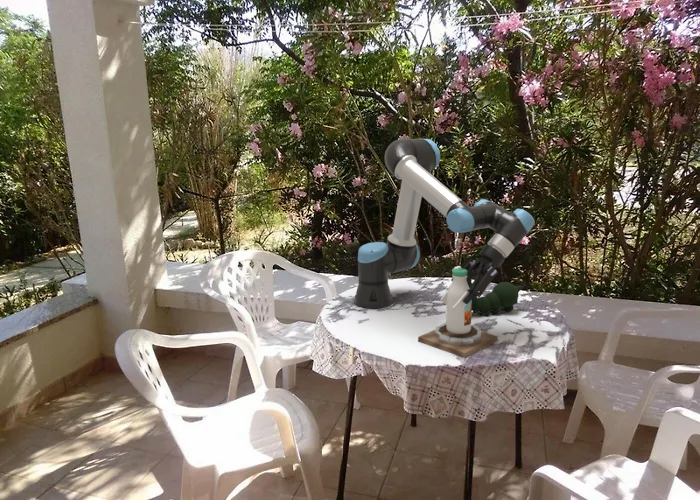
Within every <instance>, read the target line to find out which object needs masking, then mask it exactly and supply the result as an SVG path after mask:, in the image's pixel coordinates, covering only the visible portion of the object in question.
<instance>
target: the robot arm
mask: <svg viewBox="0 0 700 500" xmlns="http://www.w3.org/2000/svg"><path fill="white" fill-rule="evenodd" d="M440 161H441V153H440V149H439V148H438V145H437V143H435V142H434V141H433V140H431V139H429V138H421V137H420V138H409V139H408V138H405V139H404V138H401V139H396V140H394V141H392V142H391V143H390V144H389V145H388V146H387V148H386V150H385V153H384V163H385V166H386V168H387V169H388V172H390V174H391V175H392V176H394V177H395V178H396V179H397V180H401V183H400V190H399V197H398V202H397V205H396V206H397V208H396V212H395V217H394V224H393V229H392V233H390V234H389V235H388V236H387V240H386V242H382V241H375V242H368V243H365V244H363V245H361V246H359V248H358V251H357V252H358V255H357V262H358V264H357V268H358V271H357V272H358V274H357V275H358V276H357V278H358V285H357V289H356V292H355V295H354V298H353V299H354V304H355V305H356V306H358V307H360V308H365V309H366V308H367V309H381V308H387V307H389V306H391V305H392V304H393V301H394V300H393V298H394V297H393V294H391V292H392V291H391V288H390V285H389V275H390V274H394V273H398V272H405V271H408V270H410V269H412V268H414V267H416V265H417V264H418V262H419V260H420V257H421V255H420V250H419V249H420V248H419V246H418V243H417V240H416V238H414V236H415V232H416V226H417V222H418V218H419V212H420V208H421V204H422V203H421V202H422V198H424V200H426V201H427V203H429V204H430V205H431V206H432V207H433V208H435V210H437V211H438V212H439V214H440V213H441V214H442V215H443V216H444V217H445V218H446V225H447V227H448V229H449V230H450V231H451V232H453V233H455V234H458V233H463V234H464V233H468V232H472V231H476V230H481V229H482V230H483V229H487V228H490V229H491V230H493V231H495V232H496V233H495V234H494V235H493V236H492V237H491V238H490V239H489V241H487V244H486V245H484V246H483V248H482V249H481V250H480V251H479V257H478V258H477V259H475V260H474V259H473V258H470V259H468V262H467V263H466V264H465V265H464V266H463V267H461V268H462V269H466V270H467V278H466V279H467V281H468V280H470V279H472V278H474V277H475V278H474V279H473V282H472V286H471V288H470V289H468V290H467V291H468V292H469V293H468V292H467V291H466V292H465V293H464V294H463V296H462V297H461V298H460V299H459V300H458V302H457V303H456V304H455V305H454V306H453V308H454V309H455V310H456V311H457V312H458V313H460V312H461V310H462V309H463V308H464V307H465V306H466V305H467V304H468V303H469V302H470V301H471V299H472V298H473V297H476V296H477V298H480V297H482V295H483V294H484V292H485V291H486V289H487V288H488V287H489V285H490V283H491V282H492V281H493V280H494V278H495V277H497V275H499V272H498V271H497V269H498V268H499V267H500V266H501V265H502V264H503V263H504V261H506V260H505V259H507V258H508V256H509V255H510V254H511V253H512V252H513V250H514V249H515V248H516V247H517V246H518V245H519V243H520V242H521V241H522V240H523V239H524V238H525V236H527V235H528V234H529V232H530V230H531V229H532V228H533V227H534V226H535V222H536V221H535V219H534V218H533V216H532V215H531V213H529V212H528V211H526V210H524V209H522V208H516V209H515V210H514V211H513V212H511V211H508V210H507V209H505V208H503V207H502V206H500V205H498V204H496V203H495V202H493V201H491V200H488V199H485V198H481V199H479V201H477V202H475V204H474V205H473V206H470V205H468V204H467V203H466V202H465V201H464V200H462V199H461V198H460V197H459V196H457V195H456V193H454V192H453V191H452V190H450V189H449V188H448V187H447V186H445V184H443V183H442V181H441V182H440V180H438V179H437V178H436V177H435V176H434V175H432V173H431V172H432V170H434V169H436V167H438V166H439V164H440ZM495 268H496V269H495ZM450 281H451V282H452V281H453V277H452V278H451V279H450ZM448 290H449V288H447V291H446V292H445V293H444V294H443V295H442V297H440V299H439V300H440V301H441V302H442V303H443V304H445V305H446V306H447V294H448Z"/></svg>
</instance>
